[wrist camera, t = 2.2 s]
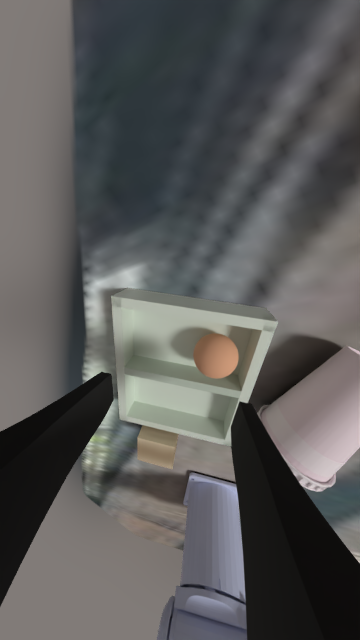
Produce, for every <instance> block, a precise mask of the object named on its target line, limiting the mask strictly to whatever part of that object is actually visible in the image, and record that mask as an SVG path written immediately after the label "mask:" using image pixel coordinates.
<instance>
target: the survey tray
mask: <svg viewBox="0 0 360 640" xmlns="http://www.w3.org/2000/svg"><path fill="white" fill-rule="evenodd" d="M111 303H112V317H113V331H114V345H115V359H116V373H117V387H118V401H119V415H120V420H124V421H128V422H132V423H136V424H140V425H144V426H149V427H153V428H157V429H161V430H165V431H169V432H173V433H177V434H181V435H185V436H189V437H193V438H197V439H202V440H206V441H210V442H214V443H218V444H222V445H226V446H230V447H231V425H232V422H233V419H234V416H235V413H236V410H237V407H238V404H239V401H240V402H245V403H248V401H249V398H250V396H251V393H252V390H253V388H254V385H255V382H256V380H257V377H258V374H259V372H260V369H261V366H262V364H263V361H264V358H265V356H266V353H267V350H268V348H269V345H270V343H271V340H272V337H273V335H274V332H275V329H276V327H277V324H278V321H277V320H276V319H275V318H274V316H273V315H272V314H271V313H270V312H269V311H268V310H267V309H266V308H262V307H255V306H248V305H241V304H234V303H228V302H221V301H214V300H207V299H200V298H194V297H187V296H180V295H173V294H166V293H159V292H153V291H146V290H139V289H132V288H127V289H124V290H122V291H120V292H118V293H116V294H114V295H112V296H111ZM213 333H217V334H222V335H225V336H227V337H228V338H230V339H231V340H232V341H233V342H234V344H235V345H236V347H237V350H238V356H239V358H238V364H237V366H236V368H235V370H234V371H233V372H232V373H231V374H230V375H228V376H226V377H224V378H218V379H215V378H210V377H207V376H205V375H204V374H203V373H201V372H200V371H199V370H198V368H197V367H196V365H195V362H194V358H193V353H194V348H195V345H196V344H197V342H198V341H199V340H200V339H201V338H202V337H204V336H205V335H208V334H213Z"/></svg>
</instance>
